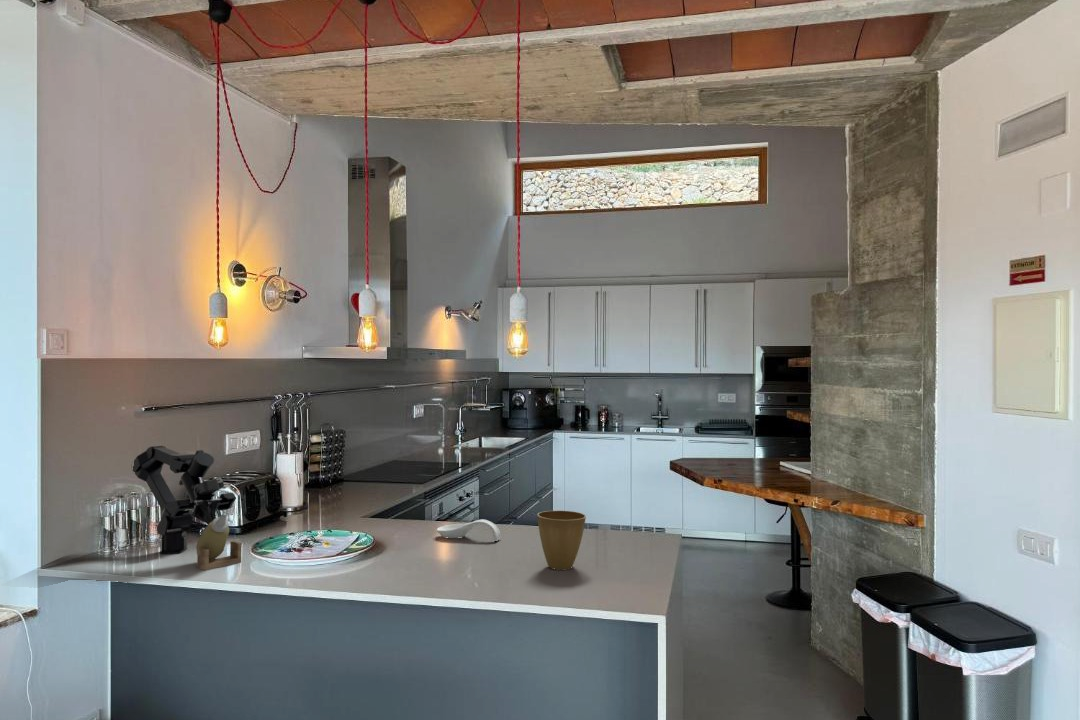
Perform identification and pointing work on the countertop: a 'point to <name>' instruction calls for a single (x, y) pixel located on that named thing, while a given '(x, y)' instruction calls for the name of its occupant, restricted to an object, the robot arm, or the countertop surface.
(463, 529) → the spoon rest
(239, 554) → the u rest
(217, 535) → the squeeze bottle
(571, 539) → the plant pot
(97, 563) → the countertop surface
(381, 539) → the countertop surface
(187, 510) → the robot arm
